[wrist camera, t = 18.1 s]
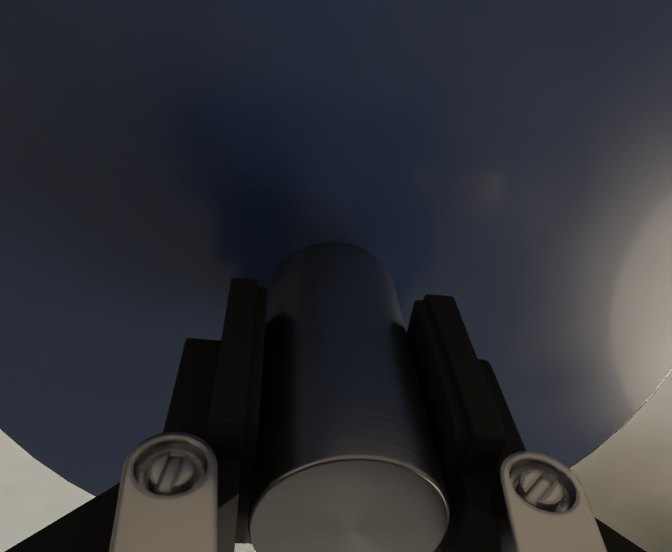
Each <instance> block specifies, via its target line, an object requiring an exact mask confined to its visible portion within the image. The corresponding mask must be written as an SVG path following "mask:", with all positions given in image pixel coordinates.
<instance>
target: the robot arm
mask: <svg viewBox="0 0 672 552" xmlns="http://www.w3.org/2000/svg"><path fill="white" fill-rule="evenodd" d="M267 296H268V288H267V287H258V280H256V279H244V278H231V283H230V289H229V296H228V302H227V308H226V314H225V320H224V326H223V332H222V338H221V340H209V339H195V338H187V339H186V341H185V344H184V348H183V352H182V356H181V361H180V365H179V369H178V373H177V377H176V381H175V385H174V389H173V393H172V398H171V402H170V406H169V410H168V414H167V418H166V422H165V426H164V430H163V433H160V434H157V435H154V436H152V437H149V438H146V439H145V440H143V441H142V442H140V443H139V444H137V445H136V446H135V447H134V448H133V449H132V451H131V452H130V453H129V454H128V455H127V457H126V460H125V463H124V465H123V470H122V476H121V482H120V483H118V484H117V485H115V486H113V487H112V488H110V489H108V490H107V491H105V492H103V493H102V494H100V495H98V496H97V497H95V498H93V499H92V500H90V501H88V502H87V503H85V504H83V505H82V506H80V507H78V508H77V509H75V510H73V511H72V512H70V513H68V514H67V515H65V516H63V517H62V518H60V519H58V520H57V521H55V522H53V523H52V524H50V525H48V526H47V527H45V528H43V529H42V530H40V531H38V532H37V533H35V534H33V535H32V536H30V537H28V538H27V539H25V540H23V541H22V542H20V543H18V544H17V545H15V546H13V547H12V548H10V549H8V550H7V551H5V552H234V547H235V543H247V538H248V512H249V499H250V488H251V481H252V478H253V476H254V467H255V457H256V447H257V437H258V426H259V413H260V399H261V384H262V370H263V355H264V340H265V325H266V311H267ZM407 338H408V342H409V346H410V350H411V353H412V357H413V361H414V365H415V369H416V373H417V377H418V381H419V385H420V389H421V393H422V397H423V401H424V405H425V409H426V413H427V417H428V421H429V425H430V429H431V433H432V437H433V441H434V445H435V449H436V453H437V457H438V461H439V465H440V469H441V473H442V477H443V481H444V485H445V489H446V493H447V497H448V501H449V505H450V522H449V527H448V530H447V533H446V535H445V538H444V539H443V541H442V542H441V544H440V545H439V547H438V548H437V549H436V550H435V551H434V552H646V551H644V550H643V549H641V548H640V547H638V546H637V545H635V544H634V543H632V542H631V541H629V540H628V539H626V538H625V537H623V536H622V535H620V534H619V533H617V532H616V531H614V530H613V529H611V528H610V527H608V526H607V525H605V524H604V523H602V522H601V521H599V520H598V519H596V518H595V517H594V515H593V512H592V509H591V506H590V504H589V501H588V498H587V496H586V493H585V490H584V488H583V486H582V484H581V483H580V481H579V479H578V478H577V477H576V475H575V474H574V473H573V472H572V471H571V470H570V469H569V468H568V467H566V466H565V465H564V464H562V463H561V462H559V461H558V460H556V459H554V458H552V457H550V456H547V455H545V454H541V453H537V452H533V451H526V449H525V446H524V444H523V441H522V439H521V437H520V434H519V432H518V429H517V427H516V424H515V422H514V420H513V417H512V415H511V412H510V410H509V407H508V405H507V402H506V400H505V398H504V395H503V393H502V390H501V388H500V385H499V383H498V381H497V378H496V376H495V373H494V371H493V368H492V366H491V365H490V363H489V362H488V361H487V360H482V359H478V358H477V356H476V353H475V351H474V348H473V346H472V343H471V340H470V338H469V335H468V333H467V330H466V327H465V325H464V322H463V320H462V317H461V315H460V312H459V309H458V307H457V304H456V302H455V299H454V298H453V297H452V296H444V295H432V294H426V295H425V296H424V298H423V300H416V301H415V303H414V305H413V309H412V313H411V317H410V321H409V325H408V330H407Z"/></svg>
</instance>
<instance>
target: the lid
mask: <svg viewBox="0 0 672 552" xmlns="http://www.w3.org/2000/svg"><path fill="white" fill-rule="evenodd" d="M231 278H244V279H256V280H258V287H267V288H268V296H267V311H266V325H265V340H264V355H263V370H262V384H261V399H260V413H259V426H258V437H257V447H256V457H255V467H254V476H253V478H252V481H251V488H250V499H249V512H248V538H247V543H249V544H253V547H254V549H255V550H256V552H434V551H435V550H436V549H437V548H438V547H439V545H440V544H441V542H442V541H443V539H444V538H445V535H446V533H447V530H448V527H449V522H450V505H449V501H448V497H447V493H446V489H445V485H444V481H443V477H442V473H441V469H440V465H439V461H438V457H437V453H436V449H435V445H434V441H433V437H432V433H431V429H430V425H429V421H428V417H427V413H426V409H425V405H424V401H423V397H422V393H421V389H420V385H419V381H418V377H417V373H416V369H415V365H414V361H413V357H412V353H411V350H410V346H409V342H408V338H407V330H408V325H409V321H410V317H411V313H412V309H413V305H414V303H415V301H416V300H423V298H424V296H425V295H426V294H432V295H444V296H452V297H453V298H454V299H455V302H456V304H457V307H458V309H459V312H460V315H461V317H462V320H463V322H464V325H465V327H466V330H467V333H468V335H469V338H470V340H471V343H472V346H473V348H474V351H475V353H476V356H477V358H478V359H482V360H487V361H488V362H489V363H490V365H491V366H492V368H493V371H494V373H495V376H496V378H497V381H498V383H499V385H500V388H501V390H502V393H503V395H504V398H505V400H506V402H507V405H508V407H509V410H510V412H511V415H512V417H513V420H514V422H515V424H516V427H517V429H518V432H519V434H520V437H521V439H522V441H523V444H524V446H525V449H526V451H533V452H537V453H541V454H545V455H547V456H550V457H552V458H554V459H556V460H558V461H559V462H561V463H562V464H564V465H565V466H566V467H568V468H571V467H572V466H574V465H575V464H576V463H578V462H579V461H581V460H582V459H583V458H585V457H586V456H588V455H589V454H591V453H592V452H593V451H595V450H596V449H597V448H598V447H599V446H600V445H602V444H603V443H604V442H605V441H606V440H607V439H609V438H610V437H611V436H612V435H613V434H614V433H616V432H617V431H618V430H619V429H620V428H621V427H622V426H624V425H625V424H626V423H627V422H628V421H629V420H630V418H631V417H632V416H633V415H634V414H635V413H636V412H637V411H638V410H639V409H640V408H641V407H642V406H643V405H644V404H645V403H646V402H647V401H648V400H649V398H650V397H651V396H652V395H653V394H654V393H655V392H656V390H657V389H658V388H659V386H660V385H661V384H662V382H663V381H664V380H665V379H666V377H667V376H668V375H669V373H670V372H671V371H672V0H0V429H1V430H2V431H3V432H4V433H5V434H7V435H8V436H9V437H10V438H11V439H12V440H14V441H15V442H16V443H17V444H18V445H19V446H21V447H22V448H23V449H24V450H25V451H26V452H28V453H29V454H30V455H31V456H32V457H33V458H35V459H36V460H38V461H39V462H41V463H42V464H44V465H45V466H46V467H48V468H49V469H51V470H52V471H54V472H55V473H57V474H58V475H60V476H61V477H63V478H64V479H65V480H67V481H68V482H70V483H72V484H74V485H76V486H77V487H79V488H81V489H83V490H85V491H87V492H88V493H90V494H92V495H94V496H96V497H97V496H98V495H100V494H102V493H103V492H105V491H107V490H108V489H110V488H112V487H113V486H115V485H117V484H118V483H120V482H121V476H122V470H123V465H124V463H125V460H126V457H127V455H128V454H129V453H130V452H131V451H132V449H133V448H134V447H135V446H136V445H137V444H139V443H140V442H142V441H143V440H145V439H146V438H149V437H152V436H154V435H157V434H160V433H163V430H164V426H165V422H166V418H167V414H168V410H169V406H170V402H171V398H172V393H173V389H174V385H175V381H176V377H177V373H178V369H179V365H180V361H181V356H182V352H183V348H184V344H185V341H186V339H187V338H195V339H209V340H221V338H222V332H223V326H224V320H225V314H226V308H227V302H228V296H229V289H230V283H231Z"/></svg>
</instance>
